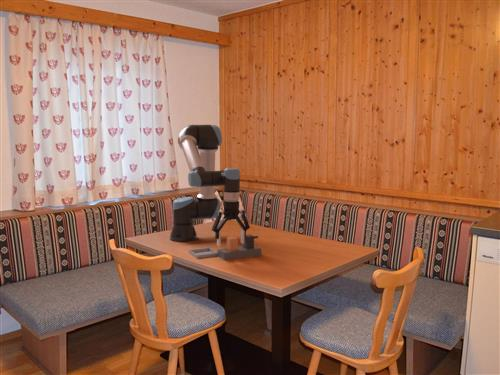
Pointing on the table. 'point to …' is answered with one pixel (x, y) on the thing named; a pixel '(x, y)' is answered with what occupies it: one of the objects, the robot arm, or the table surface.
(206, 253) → the tray
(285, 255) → the table surface
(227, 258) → the strip
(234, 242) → the plug
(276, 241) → the table surface
